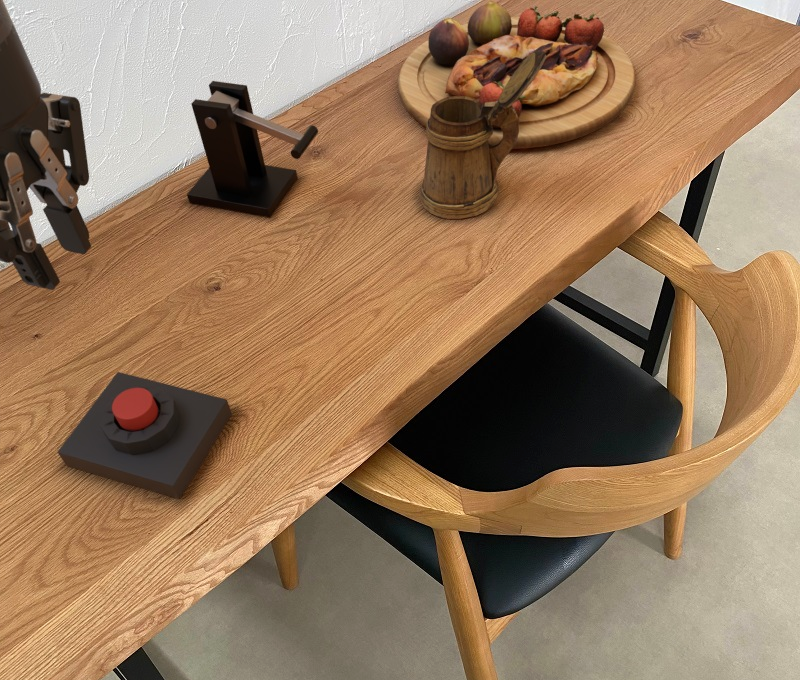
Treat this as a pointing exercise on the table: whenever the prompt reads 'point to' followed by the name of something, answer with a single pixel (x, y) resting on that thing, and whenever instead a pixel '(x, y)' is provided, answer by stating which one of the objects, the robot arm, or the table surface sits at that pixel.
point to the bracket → (235, 159)
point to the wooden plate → (501, 56)
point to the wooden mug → (471, 147)
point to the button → (135, 409)
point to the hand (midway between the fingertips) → (61, 266)
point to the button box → (148, 437)
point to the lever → (268, 125)
